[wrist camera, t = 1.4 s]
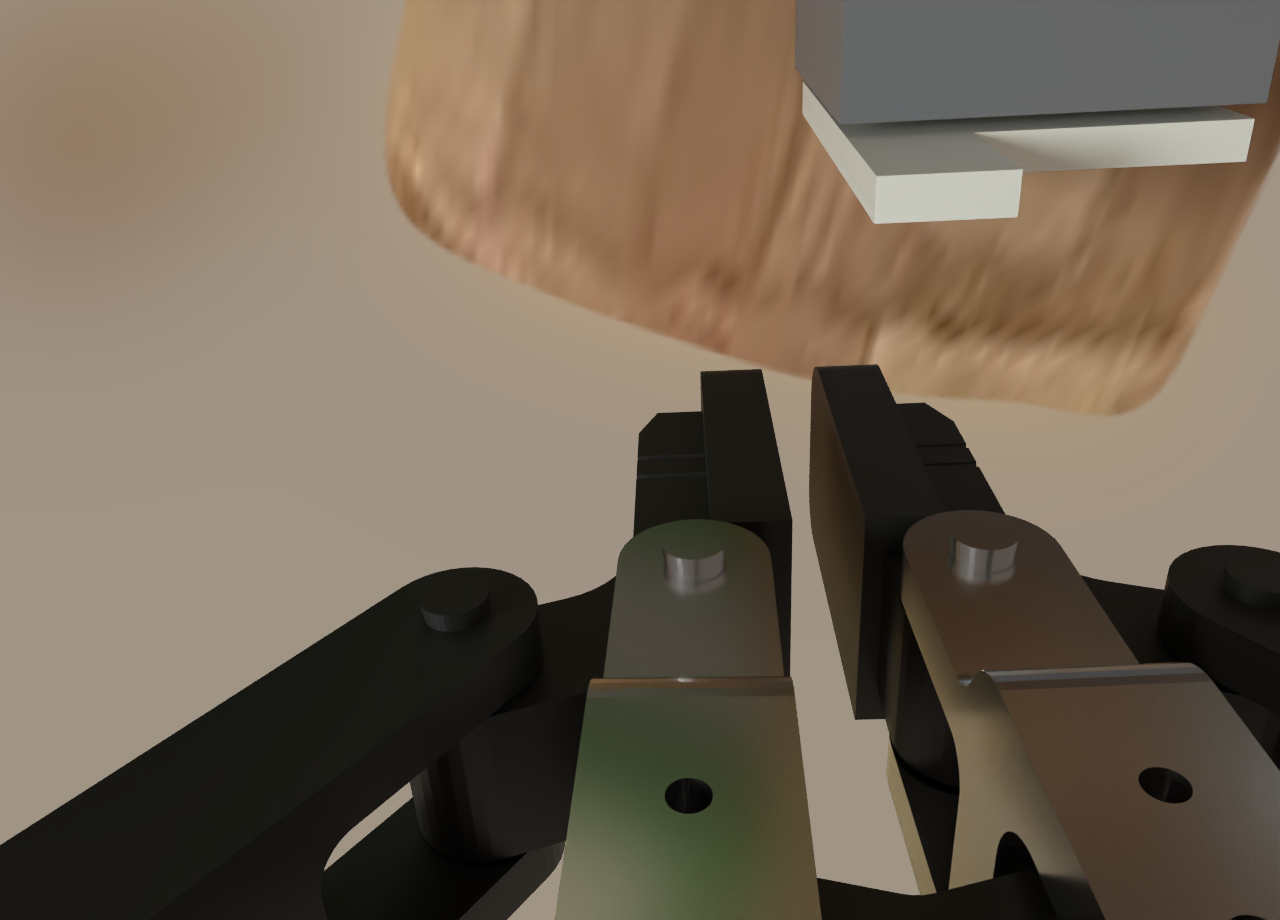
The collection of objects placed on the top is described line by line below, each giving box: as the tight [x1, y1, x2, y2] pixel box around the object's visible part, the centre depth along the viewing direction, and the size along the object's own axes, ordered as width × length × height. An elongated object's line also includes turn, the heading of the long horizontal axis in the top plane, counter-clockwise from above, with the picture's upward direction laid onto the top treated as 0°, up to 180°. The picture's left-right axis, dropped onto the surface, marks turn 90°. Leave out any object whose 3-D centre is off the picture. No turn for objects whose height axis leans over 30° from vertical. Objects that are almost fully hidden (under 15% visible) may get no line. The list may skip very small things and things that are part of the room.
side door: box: [803, 81, 1255, 224], centre depth 28 cm, size 1×10×14 cm, turn 93°
